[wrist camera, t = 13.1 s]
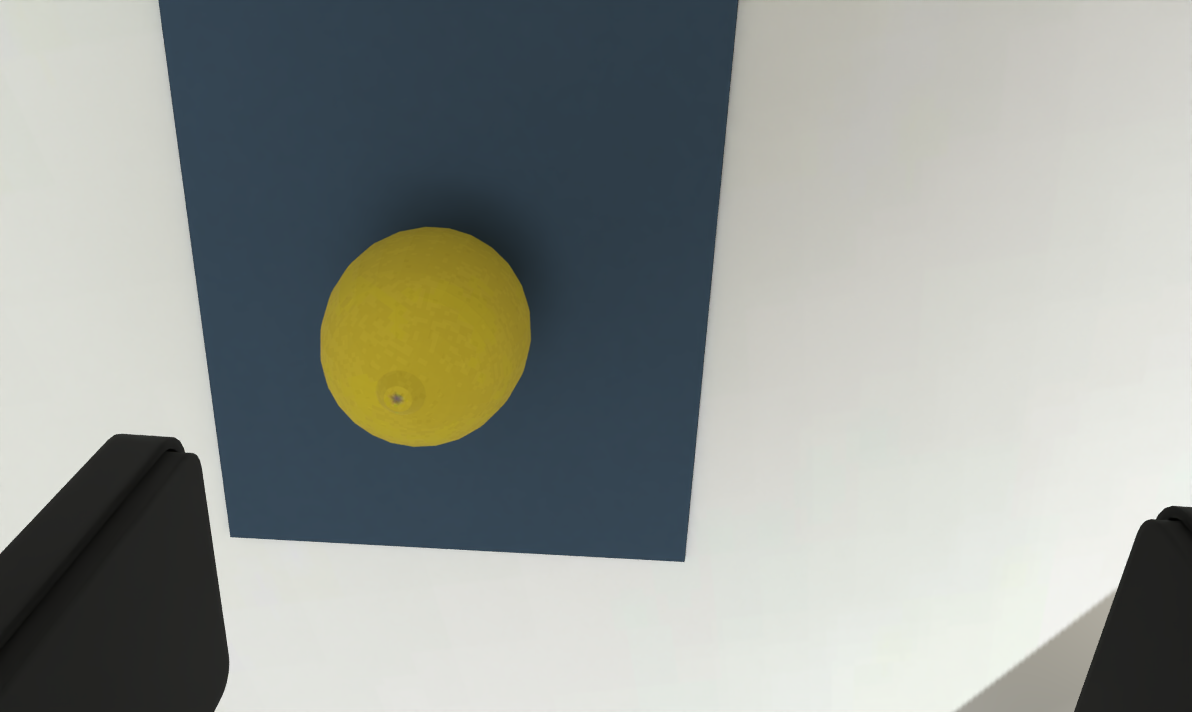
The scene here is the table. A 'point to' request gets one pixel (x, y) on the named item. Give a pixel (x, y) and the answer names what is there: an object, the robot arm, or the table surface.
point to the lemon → (425, 336)
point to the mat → (476, 207)
